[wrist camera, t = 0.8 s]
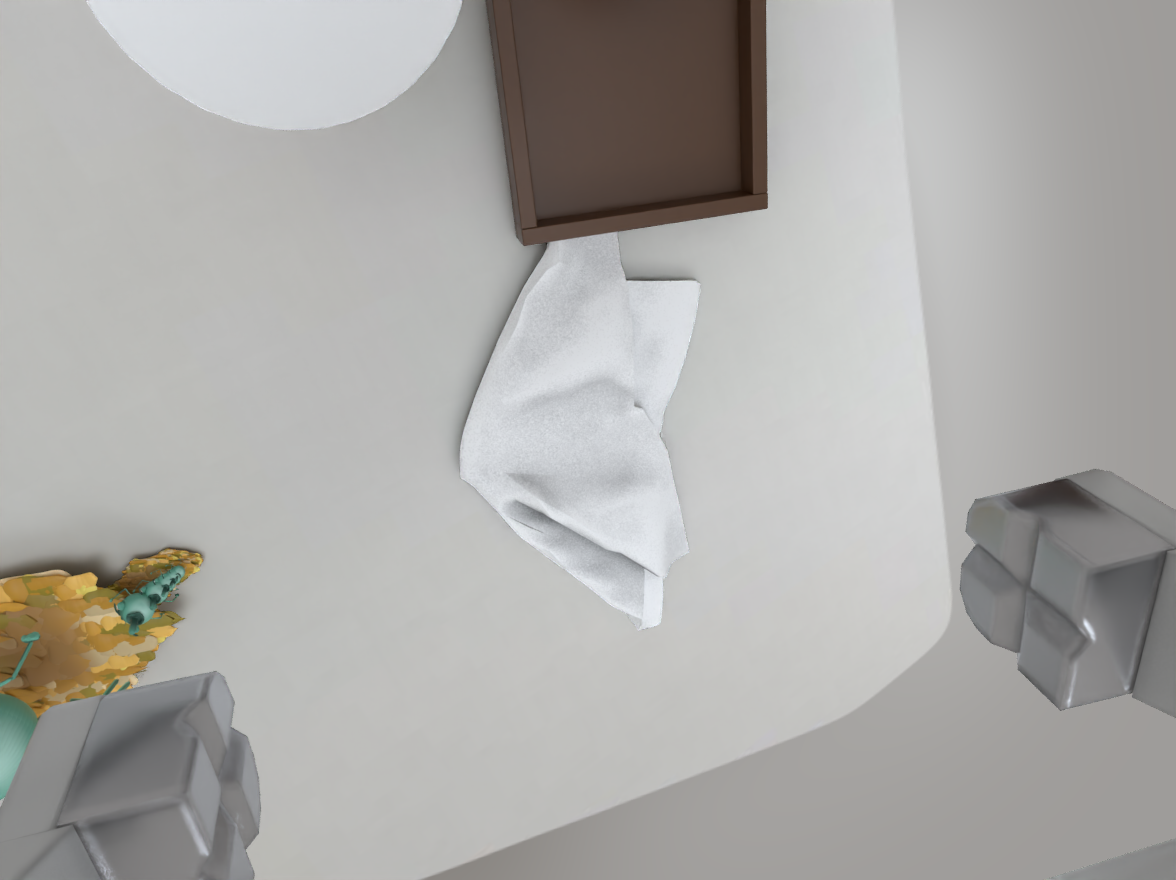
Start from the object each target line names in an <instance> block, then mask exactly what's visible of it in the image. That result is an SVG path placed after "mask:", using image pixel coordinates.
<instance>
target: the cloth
mask: <svg viewBox="0 0 1176 880" xmlns="http://www.w3.org/2000/svg"><path fill="white" fill-rule="evenodd" d="M700 289H701V285H700V284H699V283H698V282H697V281H696V280H656V281H645V280H626V278H625V274H624V271H623V268H622V264H621V260H620V251H619V242H618V233H617V232H612V233H605V234H599V235H592V236H586V237H579V238H573V239H566V240H560V241H553V242H548V244H547V247H546V251H545V254H544V255H543V257H542V258H541V260H540V261H539V263H538V265H537V266H536V268H535V269H534V271H533V273H532V274H531V276H530V277H529V279H528V281H527V282H526V284H525V285H524V287H523V289H522V291H521V293H520V296H519V298H518V300H517V302H516V304H515V306H514V308H513V310H512V312H511V314H510V316H509V319H508V321H507V323H506V325H505V327H504V329H503V331H502V333H501V335H500V337H499V339H498V342H497V344H496V347H495V349H494V352H493V354H492V357H491V359H490V361H489V364H488V366H487V369H486V371H485V374H484V376H483V379H482V381H481V383H480V386H479V388H478V391H477V393H476V396H475V398H474V401H473V404H472V407H471V410H470V413H469V416H468V419H467V422H466V425H465V428H464V431H463V436H462V441H461V446H460V478H461V479H463V480H464V481H466V482H467V483H469V484H470V485H472V486H474V487H475V488H476V490H477V491H478V492H479V493H480V494H481V495H482V496H483V497H484V498H485V499H486V500H487V501H488V502H489V504H490V505H491V506H492V507H493V508H494V509H495V510H496V511H497V512H498V513H499V514H500V515H501V517H502V518H503V519H504V520H505V521H506V522H507V524H508V525H509V526H510V527H511V528H512V529H513V530H514V531H515V532H516V533H517V534H518V535H519V536H520V537H521V538H522V539H523V540H524V541H526V542H527V543H528V544H530V545H531V546H533V547H534V548H535V549H537V550H538V551H539V552H541V553H542V554H543V555H545V556H546V557H547V558H549V559H550V560H552V561H553V562H554V563H556V564H557V565H558V566H560V567H561V568H563V569H564V570H566V571H567V572H569V573H570V574H571V575H573V576H574V577H575V578H577V579H578V580H579V581H581V582H582V583H583V584H584V585H586V586H587V587H588V588H590V589H591V590H592V591H594V592H595V593H596V594H597V595H598V596H600V597H601V598H602V599H603V600H604V601H606V602H607V603H608V604H609V605H610V606H612V607H614V608H616V609H618V610H620V611H622V612H624V613H626V614H627V616H628V617H629V618H630V620H631V621H632V622H633V624H634V625H635V627H636V628H637V629H638V631H640V630H644V629H648V628H652V627H655V626H657V625H658V624H660V622H661V614H662V607H663V578H666V577H667V574H668V572H669V569H670V567H671V564H672V562H674V561H676V560H677V559H679V558H680V557H682V556H684V555H685V554H687V553H688V552H689V547H688V542H687V537H686V533H685V528H684V523H683V518H682V514H681V509H680V505H679V501H678V496H677V492H676V488H675V484H674V479H673V474H672V469H671V464H670V459H669V453H668V451H667V449H666V447H665V445H664V443H663V441H662V440H661V438H660V432H661V428H662V424H663V420H664V412H665V409H666V407H667V405H668V403H669V401H670V398H671V396H672V394H673V392H674V390H675V387H676V384H677V381H678V379H679V376H680V373H681V370H682V368H683V365H684V362H685V359H686V355H687V351H688V347H689V343H690V339H691V335H692V331H693V327H694V323H695V319H696V313H697V307H698V301H699V295H700Z"/></svg>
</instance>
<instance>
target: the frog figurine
mask: <svg viewBox="0 0 1176 880" xmlns="http://www.w3.org/2000/svg"><path fill="white" fill-rule="evenodd" d="M158 553H159V554H157V555H154V556H152V557H150V558H146V559H134V560H132V561H130V562H129V564H130V565H129V566H127V567H126V570H124V571H122V573H123V574H125V573H126V574H125V575H123V576H122V578H121V579H120V580H117V581H115V582H114V584H112V585H109V586H108V588H105V589H103V588H100V587H97V586H96V583H97V580H98V578H97V577H96V576H95V575H94V574H93V573H91V572H88V573H84V574H81V575H75V576H71V575H70V574H69V573H67V572H66V571H63V570H51V571H46V572H42V573H36V574H27V575H24V576H15V577H9V578H4V579H0V800H1V799H3V798H4V797H5V796H6V793H7V791H8V789H9V787H10V784H11V782H12V780H13V777H14V775H15V773H16V770H17V768H18V766H19V764H20V761H21V759H22V757H23V754H24V752H25V750H26V748H27V745H28V743H29V741H30V738H31V736H32V734H33V732H34V729H35V727H36V725H37V722H38V720H39V718H40V716H41V715H42V714H43V713H44V712H45V711H47V710H48V709H49V708H51V707H52V706H54V705H58V704H63V703H67V702H72V701H76V700H81V699H85V698H90V697H94V696H99V695H108V694H109V693H112V692H117V691H121V690H126V689H131V688H133V687H132V686H131V685H136V684H137V682H138V679H137V678H136V677H135V676H134V675H133V674H134V673H138V672H139V671H140V672H142V671H141V670H143V669H145V668H142V667H145V666H146V665H147V664H148V662H149V661H152V660H154V659H155V653H154V651H157V650H158V647H159V645H158V644H160V643H161V642H163V641H164V640H165V639H166V637H168V636H171V635H172V634H173V633H174V632H175V630H176V629H178V628H174V627H173V626H172V625H173V624H175V623H177V622H178V621H180V620H183V619H185V618H181V617H180V616H178V615H177V614H176V613H174V612H172V611H161V612H160V610H158V609H157V606H158V605H161V602H163V601H164V600H165V599H166V598H167V597H170V596H171V594H169V592H172V591H175V590H179V589H177V588H176V587H175V586H176V585H179V584H180V583H181V582H183V581H184V580H185V579H187V578H188V576H190V575H191V574H195V573H196V572H198V571H200V568H198V567H199V566H200V565H201V563H202V562H203V559H202V557H201V556H202V555H201V554H198V553H195V554H193V553H191V552H189V553H188V551H186V550H185V551H184V550H175V549H173V550H171V549H170V548H168V549H164V551H161V552H158ZM175 596H176V597H175V598H174V599H173V601H174V600H175V599H176V598H177V596H179V594H175ZM173 601H164V602H173ZM146 668H148V667H146ZM144 671H146V670H144Z"/></svg>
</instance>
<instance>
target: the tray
mask: <svg viewBox="0 0 1176 880" xmlns="http://www.w3.org/2000/svg"><path fill="white" fill-rule="evenodd" d="M486 8H487V15H488V23H489V31H490V38H491V46H492V54H493V61H494V69H495V76H496V84H497V92H498V99H499V107H500V115H501V122H502V130H503V138H504V145H505V153H506V160H507V168H508V176H509V183H510V191H511V199H512V206H513V214H514V222H515V229H516V237H517V238H518V239H519V241H520V242H521V243H522V244H523V245H524V246H527V245H534V244H540V243H547V242H553V241H560V240H566V239H573V238H579V237H586V236H592V235H599V234H605V233H612V232H618V231H625V230H631V229H638V228H644V227H651V226H657V225H664V224H670V223H677V222H683V221H690V220H696V219H703V218H709V217H716V216H722V215H729V214H735V213H742V212H748V211H755V210H761V209H767V208H768V194H767V193H766V192H767V75H766V0H486Z"/></svg>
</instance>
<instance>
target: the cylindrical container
mask: <svg viewBox="0 0 1176 880" xmlns="http://www.w3.org/2000/svg"><path fill="white" fill-rule="evenodd" d="M86 2H87V3H88V5H89V7H90V8H91V10H92V12H93V13H94V15H95V17H96V18H97V20H98V21H99V22H100V23H101V25H102V26H103V27H104V28H105V29H106V31H107V32H108V33H109V34H110V35H111V37H112V38H113V39H114V40H115V41H116V42H117V44H118V45H119V46H120V47H121V48H122V50H123V51H124V52H125V53H126V54H127V56H129V57H130V58H131V59H132V60H133V61H134V62H136V63H137V64H138V65H139V66H140V67H141V68H143V69H144V70H145V71H146V72H147V73H148V74H150V75H151V76H152V77H153V78H154V79H155V80H157V81H158V82H159V83H160V84H161V85H162V86H164V87H166V88H167V89H169V90H171V91H172V92H174V93H176V94H177V95H179V96H181V97H182V98H184V99H186V100H188V101H189V102H191V103H193V104H194V105H196V106H198V107H199V108H201V109H203V110H206V111H209V112H211V113H214V114H217V115H219V116H222V117H225V118H228V119H230V120H233V121H236V122H239V123H241V124H245V125H251V126H258V127H264V128H270V129H276V130H282V131H284V130H311V129H323V128H327V127H331V126H335V125H340V124H344V123H348V122H352V121H355V120H357V119H359V118H361V117H363V116H366V115H368V114H370V113H372V112H374V111H376V110H379V109H381V108H383V107H384V106H386V105H387V104H388V103H390V102H391V101H393V100H394V99H395V98H397V97H398V96H399V95H401V94H402V93H403V92H405V91H406V90H407V89H409V88H410V87H412V85H413V84H414V83H415V82H416V81H417V80H418V79H419V77H420V76H421V75H422V74H423V73H424V72H425V71H426V70H427V68H428V67H429V66H430V65H431V64H432V63H433V62H434V60H435V59H436V58H437V56H438V54H439V53H440V51H441V49H442V47H443V45H444V44H445V42H446V40H447V38H448V36H449V35H450V33H451V31H452V29H453V28H454V26H455V24H456V21H457V18H458V14H459V11H460V8H461V5H462V2H463V0H86Z"/></svg>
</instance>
